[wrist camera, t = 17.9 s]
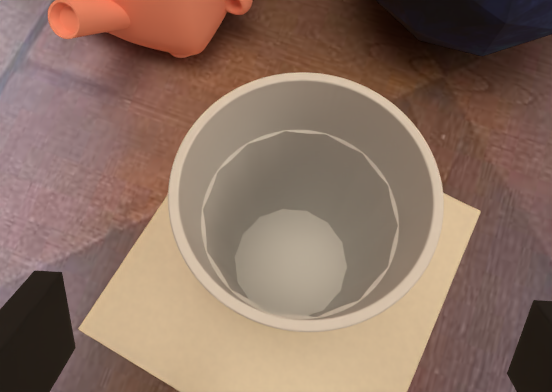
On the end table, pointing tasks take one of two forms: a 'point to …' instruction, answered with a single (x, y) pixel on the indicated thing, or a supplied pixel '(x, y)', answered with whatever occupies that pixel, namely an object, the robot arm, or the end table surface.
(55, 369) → the robot arm
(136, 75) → the end table surface
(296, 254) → the cup
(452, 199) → the napkin
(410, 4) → the decorative orb
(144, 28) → the teapot
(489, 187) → the end table surface
